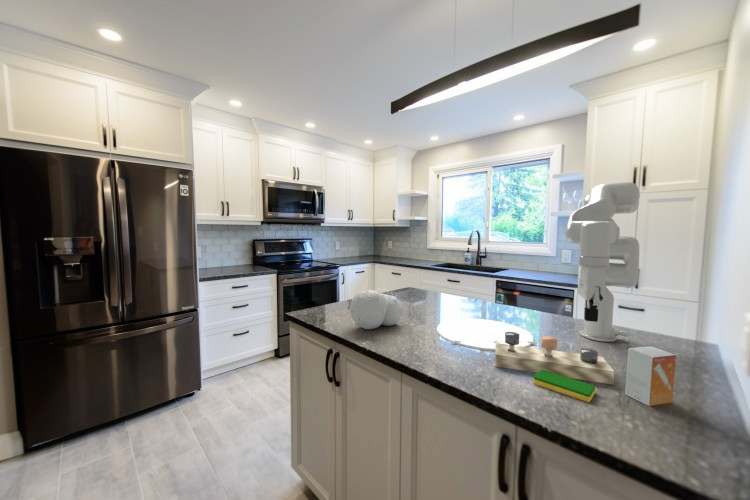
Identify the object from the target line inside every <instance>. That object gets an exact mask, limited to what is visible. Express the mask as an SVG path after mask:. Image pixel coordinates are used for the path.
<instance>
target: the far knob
mask: <svg viewBox="0 0 750 500" xmlns="http://www.w3.org/2000/svg"><path fill="white" fill-rule="evenodd" d="M505 343H507V344H509V352H514V345H518V344H519V334H518V333H515V332H505Z"/></svg>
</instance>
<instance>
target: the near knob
mask: <svg viewBox="0 0 750 500" xmlns="http://www.w3.org/2000/svg"><path fill="white" fill-rule="evenodd" d="M579 354H580V359H581V360H582V361H584V362H587V363H597V359H598V356H599V352H598V350H596V349H592V348H585V347H582V348H580V352H579Z"/></svg>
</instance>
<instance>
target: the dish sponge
mask: <svg viewBox="0 0 750 500" xmlns="http://www.w3.org/2000/svg"><path fill="white" fill-rule="evenodd" d="M532 384H534V385H537V386H539V387H542V388H546V389H548V390H551V391H554V392H558V393H560V394H563V395H567V396H569V397H573V398H575V399H578V400H581V401H584V402H586V403H590V402H591V400H592V399H593V397H594V395H595V394H596V386H595V385H593V384H591V383H587V382H583V381H582V380H578V379H574V378H568V377H564V376H561V375H558V374H554V373H551V372H548V371H545V370H540V371H539V372H538V373H535V375H534V376H533V382H532Z"/></svg>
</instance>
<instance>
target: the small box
mask: <svg viewBox="0 0 750 500" xmlns="http://www.w3.org/2000/svg"><path fill="white" fill-rule="evenodd" d="M626 359H627V360H626V372H625V373H626V374H625V375H626V377H625V387H624V388H625V389H624V394H625V395H626V396H628V397H630V398H632V399H634V400H636V401H638V402H640V403H642V404H644V405H646V406H648V407H653V406H658V405H665V404H671V403H673V397H674V385H675V373H676V362H677V354H674V353H671V352H669V351H666V350H663V349H660V348H657V347H655V346H651V345H650V346H637V347H630V348H627V358H626Z"/></svg>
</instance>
